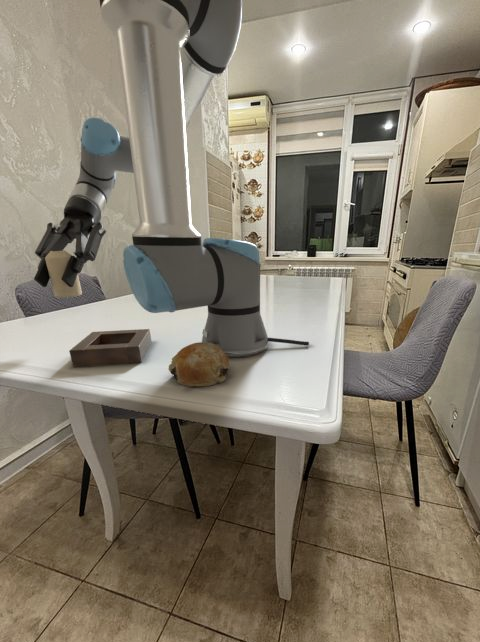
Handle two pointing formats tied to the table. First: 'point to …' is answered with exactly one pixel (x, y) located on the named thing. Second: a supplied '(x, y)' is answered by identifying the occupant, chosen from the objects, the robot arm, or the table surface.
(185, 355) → the bread roll
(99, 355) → the candle block
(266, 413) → the table surface
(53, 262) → the candle
